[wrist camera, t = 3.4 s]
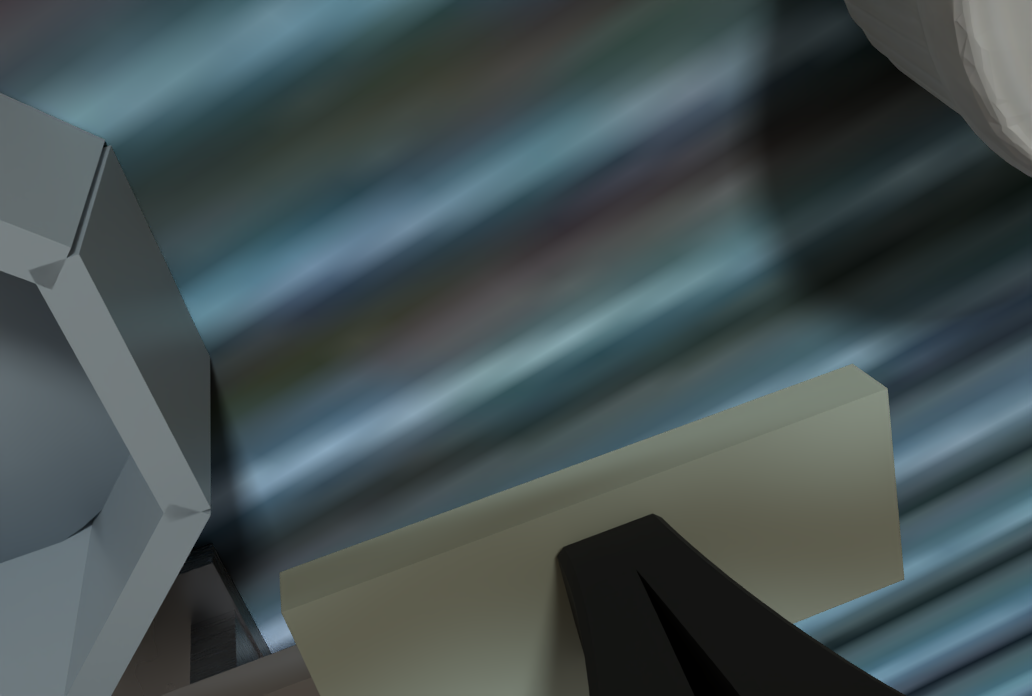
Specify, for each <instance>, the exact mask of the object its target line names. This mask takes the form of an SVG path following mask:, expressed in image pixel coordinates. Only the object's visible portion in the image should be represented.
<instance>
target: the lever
mask: <svg viewBox="0 0 1032 696" xmlns="http://www.w3.org/2000/svg"><path fill="white" fill-rule="evenodd" d="M652 513H653V514H655V515H657V516H660V517H662V518H663V519H664V520H665V521H666V522H667V523H668V524H669V525H670V526H671V527H672V528H673V529H674V530H676V531H677V532H678V533H679V534H680V535H681V536H682V537H683V538H684V539H685V540H687V541H688V542H689V543H690V544H691V545H692V546H693V547H695V548H696V549H697V550H698V551H699V552H700V553H702V554H703V555H704V556H705V557H706V558H707V559H709V560H710V561H711V562H712V563H714V564H715V565H716V566H717V567H718V568H720V569H721V570H722V571H723V572H724V573H726V574H727V575H728V576H729V577H731V578H732V579H733V580H734V581H736V582H737V583H738V584H740V585H741V586H742V587H743V588H745V589H746V590H747V591H749V592H750V593H751V594H753V595H754V596H755V597H757V598H758V599H759V600H761V601H762V602H763V603H765V604H766V605H767V606H769V607H770V608H772V609H773V610H774V611H776V612H777V613H778V614H780V615H781V616H782V617H784V618H785V619H786V620H788V621H789V622H791V623H792V624H793V623H796V622H798V621H801V620H803V619H806V618H808V617H811V616H813V615H816V614H819V613H821V612H824V611H826V610H829V609H831V608H834V607H836V606H839V605H841V604H844V603H846V602H849V601H851V600H854V599H856V598H859V597H861V596H864V595H866V594H869V593H871V592H874V591H876V590H879V589H881V588H884V587H886V586H889V585H891V584H894V583H896V582H899V581H901V580H904V571H903V560H902V548H901V537H900V526H899V514H898V503H897V491H896V480H895V468H894V457H893V446H892V434H891V423H890V411H889V400H888V389H887V388H886V387H885V386H883V385H882V384H880V383H879V382H878V381H876V380H875V379H873V378H872V377H870V376H869V375H868V374H866V373H865V372H863V371H862V370H860V369H859V368H858V367H856V366H855V365H853V364H851V365H848V366H845V367H843V368H840V369H837V370H834V371H832V372H829V373H826V374H823V375H821V376H818V377H815V378H812V379H810V380H807V381H804V382H801V383H799V384H796V385H793V386H790V387H788V388H785V389H782V390H779V391H777V392H774V393H771V394H768V395H766V396H763V397H760V398H757V399H755V400H752V401H749V402H746V403H744V404H741V405H738V406H736V407H733V408H730V409H727V410H725V411H722V412H719V413H716V414H714V415H711V416H708V417H705V418H703V419H700V420H697V421H694V422H692V423H689V424H686V425H683V426H681V427H678V428H675V429H672V430H670V431H667V432H664V433H661V434H659V435H656V436H653V437H650V438H648V439H645V440H642V441H639V442H637V443H634V444H631V445H628V446H626V447H623V448H620V449H617V450H615V451H612V452H609V453H607V454H604V455H601V456H598V457H596V458H593V459H590V460H587V461H585V462H582V463H579V464H576V465H574V466H571V467H568V468H565V469H563V470H560V471H557V472H554V473H552V474H549V475H546V476H543V477H541V478H538V479H535V480H532V481H530V482H527V483H524V484H521V485H519V486H516V487H513V488H510V489H508V490H505V491H502V492H499V493H497V494H494V495H491V496H488V497H486V498H483V499H480V500H478V501H475V502H472V503H469V504H467V505H464V506H461V507H458V508H456V509H453V510H450V511H447V512H445V513H442V514H439V515H436V516H434V517H431V518H428V519H425V520H423V521H420V522H417V523H414V524H412V525H409V526H406V527H403V528H401V529H398V530H395V531H392V532H390V533H387V534H384V535H381V536H379V537H376V538H373V539H370V540H368V541H365V542H362V543H359V544H357V545H354V546H351V547H349V548H346V549H343V550H340V551H338V552H335V553H332V554H329V555H327V556H324V557H321V558H318V559H316V560H313V561H310V562H307V563H305V564H302V565H299V566H296V567H294V568H291V569H288V570H285V571H283V572H280V592H281V613H282V615H283V617H284V619H285V621H286V623H287V625H288V628H289V630H290V632H291V634H292V636H293V638H294V640H295V643H296V645H294V646H292V647H289V648H286V649H284V650H281V651H278V652H276V653H273V654H270V655H268V656H265V657H262V658H260V659H257V660H254V661H252V662H249V663H246V664H244V665H241V666H238V667H236V668H233V669H230V670H228V671H225V672H222V673H220V674H217V675H214V676H212V677H209V678H206V679H204V680H201V681H198V682H196V683H193V684H190V685H188V686H185V687H182V688H180V689H177V690H174V691H172V692H169V693H166V694H164V695H161V696H589V686H588V679H587V671H586V664H585V657H584V653H583V649H582V646H581V642H580V639H579V635H578V632H577V628H576V625H575V621H574V618H573V614H572V610H571V606H570V603H569V599H568V595H567V592H566V588H565V584H564V581H563V577H562V573H561V570H560V566H559V562H558V559H557V556H558V554H559V553H560V551H561V550H562V548H563V547H564V546H567V545H570V544H572V543H575V542H578V541H580V540H583V539H586V538H588V537H591V536H594V535H596V534H599V533H602V532H604V531H607V530H610V529H612V528H615V527H618V526H620V525H623V524H626V523H628V522H631V521H634V520H636V519H639V518H642V517H644V516H647V515H650V514H652Z"/></svg>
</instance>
